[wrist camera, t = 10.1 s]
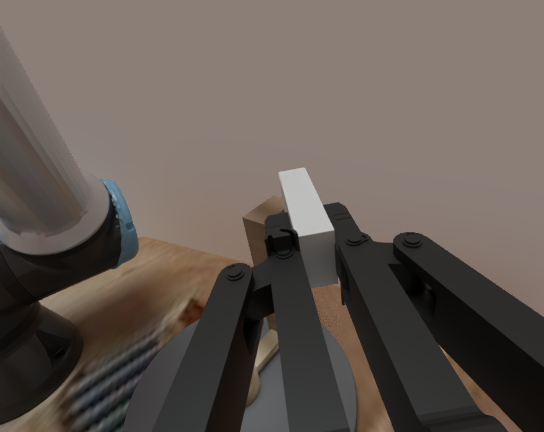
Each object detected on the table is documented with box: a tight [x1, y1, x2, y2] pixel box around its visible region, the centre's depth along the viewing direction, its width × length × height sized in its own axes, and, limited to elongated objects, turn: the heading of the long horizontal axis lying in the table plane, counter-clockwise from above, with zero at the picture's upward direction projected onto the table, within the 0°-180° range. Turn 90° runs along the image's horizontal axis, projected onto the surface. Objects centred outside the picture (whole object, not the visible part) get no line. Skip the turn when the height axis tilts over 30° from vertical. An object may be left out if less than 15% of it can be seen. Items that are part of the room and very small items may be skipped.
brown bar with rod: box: [243, 196, 285, 406], centre depth 32 cm, size 24×5×18 cm, turn 140°
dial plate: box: [123, 317, 357, 432], centre depth 37 cm, size 26×26×2 cm
